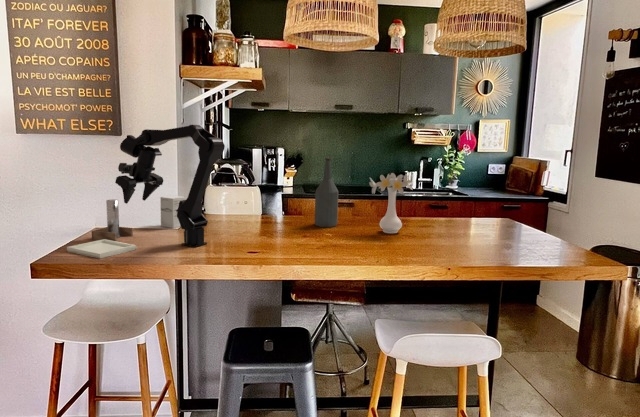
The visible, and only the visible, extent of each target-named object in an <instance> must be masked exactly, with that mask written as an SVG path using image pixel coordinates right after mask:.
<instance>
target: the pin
mask: <svg viewBox="0 0 640 417" xmlns="http://www.w3.org/2000/svg"><path fill="white" fill-rule="evenodd" d="M105 202H106V203H105V204H106V222H107V226H106V227H107V228H108V232H112V233H116V239H119V238H120V236H121V235H120V234H119V227H120V214H119V200H118V199H106V201H105Z"/></svg>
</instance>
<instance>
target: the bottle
mask: <svg viewBox="0 0 640 417" xmlns="http://www.w3.org/2000/svg"><path fill="white" fill-rule="evenodd" d="M331 160H332V159H331V157H325V160H324V161H325V163H324V171H323V176H322V177H323V178H322V180H321V182H320V184H319V185H318V186H317V188H316V190H315V192H314V193H315V196H314V199H315V200H314V225H315V226H316V227H320V228H335V227H336V226H337V225H338V213H339V190H338V188H337V186H336V185H335V183H334V181H333V179H332V178H333V177H332V167H331V166H332V165H331Z"/></svg>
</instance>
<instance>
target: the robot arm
mask: <svg viewBox="0 0 640 417" xmlns="http://www.w3.org/2000/svg"><path fill="white" fill-rule="evenodd" d="M188 138H191V139H192V141H193V143H194V144H195V145H196V146H197V147H198V152H197V153H198V158H199V162H198V163H197V164H198V165H197V168H196V170H195V174H194V176H193V181H192V183H191V186H190V190H189V192H188V195H187V198H185V200H183V201H180V202H179V206H178V209H177V210H176V212H177V218H178V220H179V223H180V226H181V227H180V228H181V230H184V231H183V242H181V246H187V247H192V248H197V247H200V246H204V245H207V244H208V242H207V241H205V228H204V227H207V226H208V223H209V221H208V219H207V218H206V216H204V214H203V203H202V201H203V197H204V194H205V192H206V188H207V186H208V183H209V179H210V176H211V173H212V171H213V168H214V165H215V164H216V162H218V160H219V159H220V158H221V156H222V154H223V152H224V151H225V148H226V146H225V145H226V144H225V143H224V141H223V140H222V139H221V138H220V137H217V136H216V135H215V134H213V133H211V132H209V131H208V130H206V129H205V128H204V127H203V126H201V125H199V124H189V125H186V126H179V127H174V128H168V129H148V128H147V129H143V130H142V131H141V134H139V136H137V137H135V135H132V134H127V135H126V138H124V139H123V140H122V142H120V144H119V145H120V146H119V149H120V151H121V152H123V153H125V154H126V155H129V156H130V157H132V158H134V159H136V158H137V160H136V162H133V163H132V164H128V163H127V162H119V165H118V168H117V169H118V172H120V173H121V174H122V175H118V176H116V178H115V184H116V185H117V186H119V187H120V188H121V190H122V194H123V195H122V196H123V203H124V204H128V203H129V202H130V200H131V198H132V196H133V195H134V193H135V191H136V187H137V184H144V187H143V192H142V198H141V199H142V201H143V202H144V201H146V200H148V198H149V197H150V196H151V195H152V194H153V193H154V192H155V191H156V190H157V189H158V188H159V187H160V186H162V185H163V184H164V178H163V176H161V175H159V174H156V173H155V169H156V167H154V166H155V160H156V157H157V156H162V155H163V154H162V152H161V151H160V148H159V146H162V145H165V144H167V143H168V142H170V141H174V140H179V139H180V140H181V139H188ZM152 146H153V147H152ZM154 146H155V148H154ZM153 171H154V172H153ZM123 174H124V175H123ZM125 174H128V175H125Z"/></svg>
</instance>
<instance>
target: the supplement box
mask: <svg viewBox="0 0 640 417" xmlns="http://www.w3.org/2000/svg"><path fill="white" fill-rule="evenodd" d="M177 196H178V195H177ZM183 200H186V197H185V196H180V195H179V196H178V197H164V196H160V227H163V228H169V229H177V228H181V226H180V223H179V220H178V218H177V212H176V210H177V209H178V206H179V202H180V201H183Z"/></svg>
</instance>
